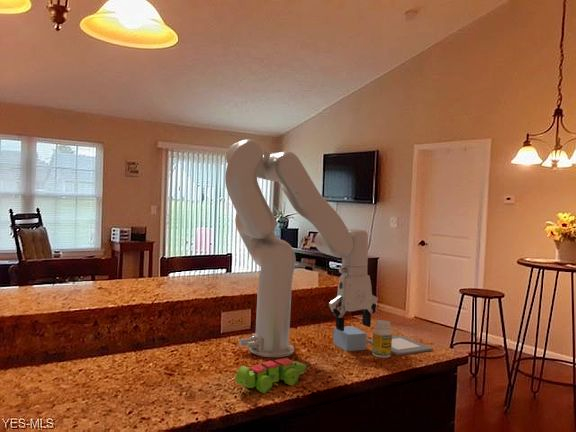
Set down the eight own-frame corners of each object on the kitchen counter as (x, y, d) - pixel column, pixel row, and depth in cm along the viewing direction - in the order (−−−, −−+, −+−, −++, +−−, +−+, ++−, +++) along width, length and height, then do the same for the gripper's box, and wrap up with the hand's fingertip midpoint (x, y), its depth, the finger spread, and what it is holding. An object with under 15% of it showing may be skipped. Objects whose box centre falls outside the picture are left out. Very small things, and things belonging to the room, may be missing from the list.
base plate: (396, 355, 138) (397, 353, 138) (366, 341, 150) (366, 339, 150) (432, 350, 144) (432, 348, 144) (400, 337, 157) (400, 335, 156)
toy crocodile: (294, 372, 121) (295, 348, 121) (312, 380, 116) (313, 355, 116) (227, 389, 108) (228, 362, 108) (244, 399, 103) (245, 371, 103)
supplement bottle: (381, 351, 141) (383, 318, 141) (395, 356, 137) (397, 323, 136) (367, 353, 138) (369, 320, 138) (381, 359, 134) (383, 325, 133)
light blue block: (346, 351, 139) (347, 334, 139) (333, 343, 147) (334, 327, 146) (365, 350, 142) (366, 333, 142) (351, 341, 149) (352, 326, 149)
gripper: (337, 275, 136) (336, 335, 137) (385, 271, 144) (384, 327, 145) (323, 271, 142) (322, 328, 143) (369, 267, 151) (368, 321, 152)
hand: (353, 327), depth 144 cm, fingers open, 9 cm apart
